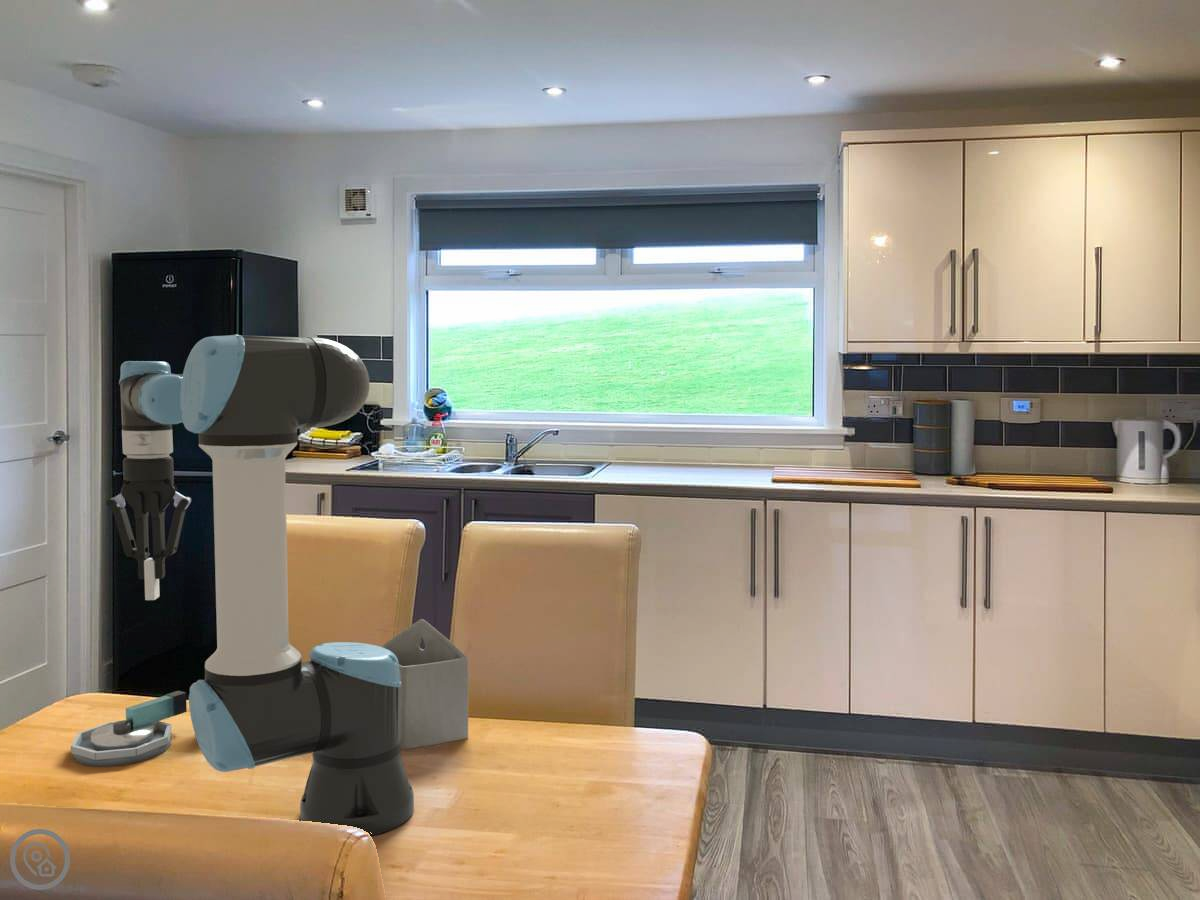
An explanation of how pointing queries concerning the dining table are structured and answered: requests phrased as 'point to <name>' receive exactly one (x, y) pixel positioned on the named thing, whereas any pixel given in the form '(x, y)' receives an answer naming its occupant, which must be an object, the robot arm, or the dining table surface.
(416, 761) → the dining table surface
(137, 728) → the dial
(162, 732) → the housing
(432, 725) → the planter
